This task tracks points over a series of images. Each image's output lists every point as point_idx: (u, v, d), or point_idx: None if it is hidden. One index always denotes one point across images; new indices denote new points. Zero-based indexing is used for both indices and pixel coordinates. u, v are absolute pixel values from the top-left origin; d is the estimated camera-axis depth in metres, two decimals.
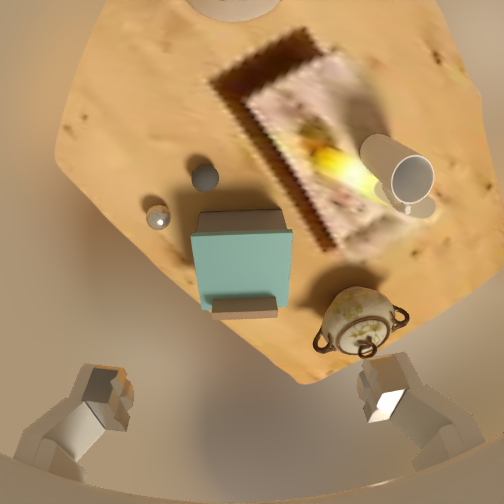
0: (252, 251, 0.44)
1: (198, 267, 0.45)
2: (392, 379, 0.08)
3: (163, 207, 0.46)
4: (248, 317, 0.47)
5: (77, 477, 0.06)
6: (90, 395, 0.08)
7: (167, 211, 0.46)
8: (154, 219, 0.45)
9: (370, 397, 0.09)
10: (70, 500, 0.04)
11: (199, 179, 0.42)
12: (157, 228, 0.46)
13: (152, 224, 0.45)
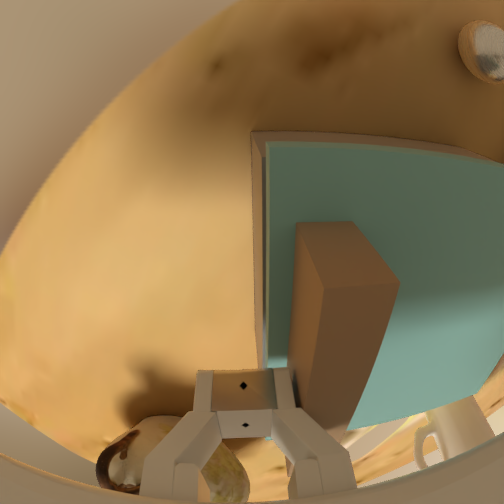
0: (486, 340, 0.12)
1: None
2: (260, 396, 0.08)
3: None
4: None
5: (207, 497, 0.06)
6: (221, 403, 0.08)
7: (501, 82, 0.11)
8: None
9: None
10: (70, 500, 0.04)
11: None
12: (496, 46, 0.09)
13: None
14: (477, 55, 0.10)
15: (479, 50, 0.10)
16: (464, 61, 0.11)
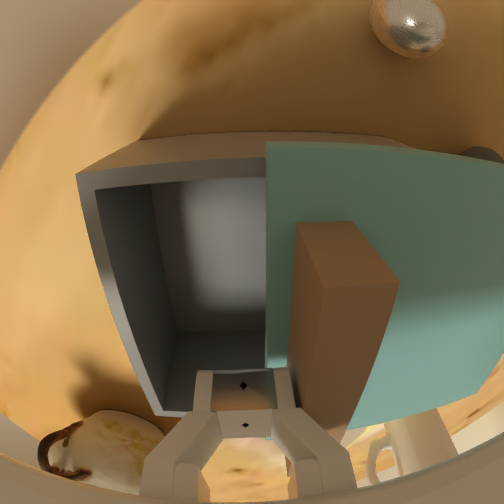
0: (486, 340, 0.12)
1: None
2: (260, 396, 0.08)
3: None
4: None
5: (207, 497, 0.06)
6: (221, 403, 0.08)
7: (428, 55, 0.11)
8: (440, 18, 0.08)
9: None
10: (70, 500, 0.04)
11: None
12: (407, 11, 0.09)
13: (424, 3, 0.08)
14: (385, 25, 0.10)
15: (387, 19, 0.09)
16: (377, 36, 0.11)
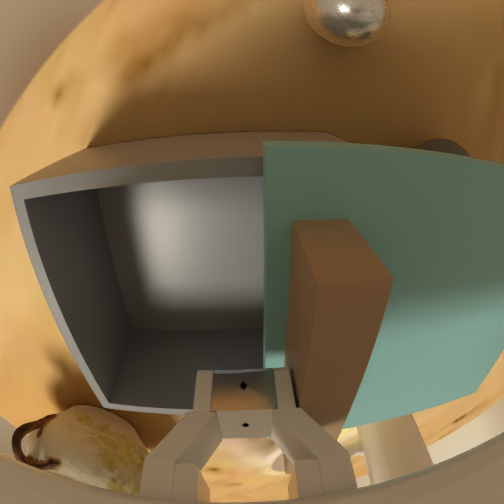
0: (484, 339, 0.12)
1: None
2: (260, 396, 0.08)
3: None
4: None
5: (207, 497, 0.06)
6: (221, 403, 0.08)
7: (369, 42, 0.11)
8: (375, 0, 0.08)
9: None
10: (70, 500, 0.04)
11: None
12: None
13: None
14: (314, 15, 0.10)
15: (315, 8, 0.09)
16: (312, 28, 0.11)
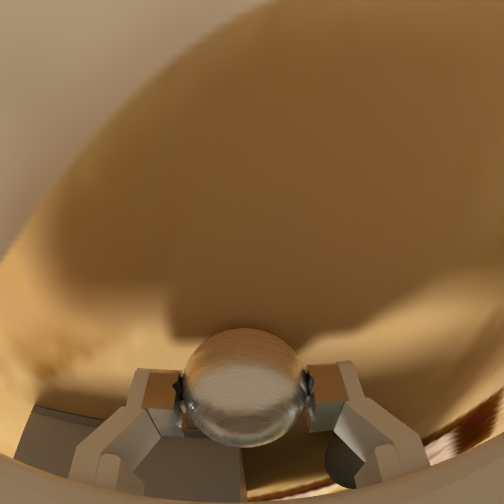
0: None
1: None
2: (330, 389, 0.08)
3: None
4: None
5: (137, 490, 0.06)
6: (151, 401, 0.08)
7: None
8: (270, 435, 0.08)
9: (310, 406, 0.09)
10: (70, 500, 0.04)
11: None
12: (210, 433, 0.08)
13: (238, 428, 0.07)
14: None
15: (192, 418, 0.09)
16: None
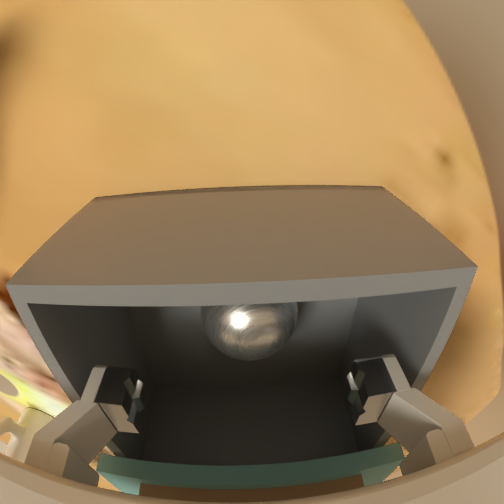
0: None
1: None
2: (379, 382, 0.08)
3: None
4: None
5: (90, 480, 0.06)
6: (103, 396, 0.08)
7: None
8: (278, 338, 0.11)
9: (357, 399, 0.09)
10: (70, 500, 0.04)
11: None
12: (231, 345, 0.11)
13: (255, 332, 0.11)
14: (212, 343, 0.12)
15: (212, 342, 0.12)
16: None
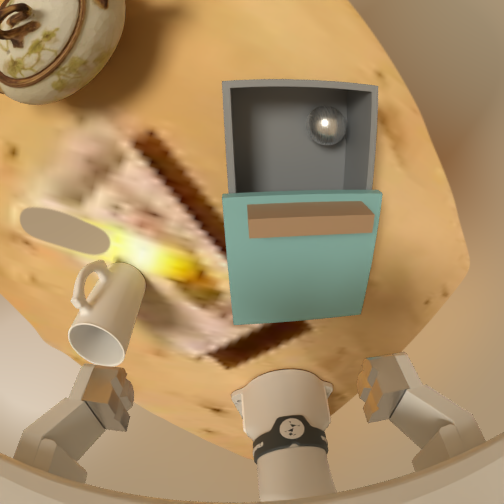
0: (287, 301, 0.31)
1: (364, 275, 0.30)
2: (392, 379, 0.08)
3: None
4: (307, 219, 0.23)
5: (77, 477, 0.06)
6: (90, 395, 0.08)
7: None
8: None
9: (370, 397, 0.09)
10: (70, 500, 0.04)
11: None
12: (345, 126, 0.27)
13: None
14: (338, 135, 0.26)
15: (340, 132, 0.26)
16: (323, 138, 0.27)
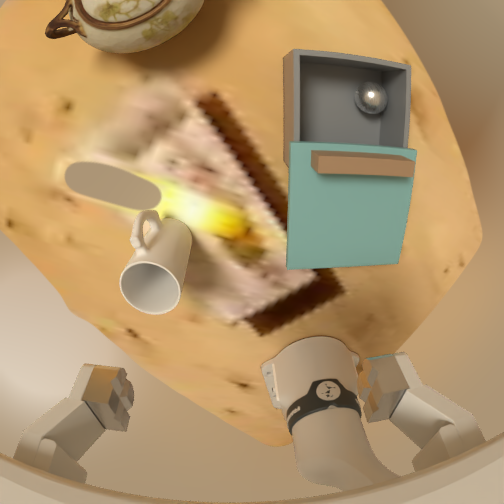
0: (337, 245, 0.33)
1: (402, 224, 0.32)
2: (392, 379, 0.08)
3: None
4: (364, 160, 0.26)
5: (77, 477, 0.06)
6: (90, 395, 0.08)
7: None
8: None
9: (370, 397, 0.09)
10: (70, 500, 0.04)
11: None
12: None
13: None
14: (384, 104, 0.30)
15: (386, 102, 0.30)
16: (374, 106, 0.30)
